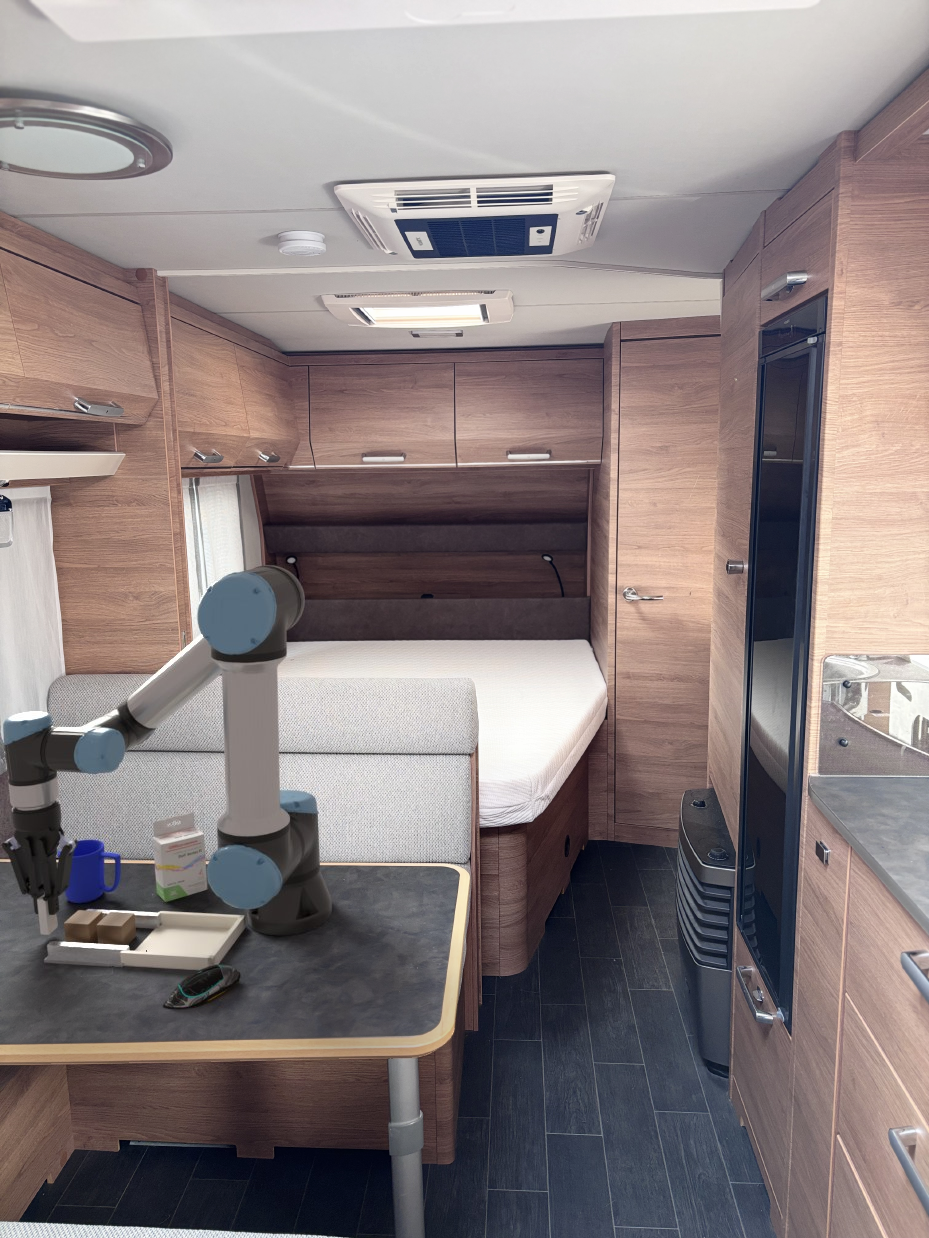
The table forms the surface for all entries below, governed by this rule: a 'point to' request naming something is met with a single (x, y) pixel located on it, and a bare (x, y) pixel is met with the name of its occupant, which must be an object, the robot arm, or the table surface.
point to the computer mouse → (202, 987)
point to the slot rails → (98, 945)
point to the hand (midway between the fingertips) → (49, 930)
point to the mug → (90, 872)
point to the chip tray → (187, 941)
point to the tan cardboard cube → (116, 929)
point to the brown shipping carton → (83, 927)
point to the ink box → (179, 857)
